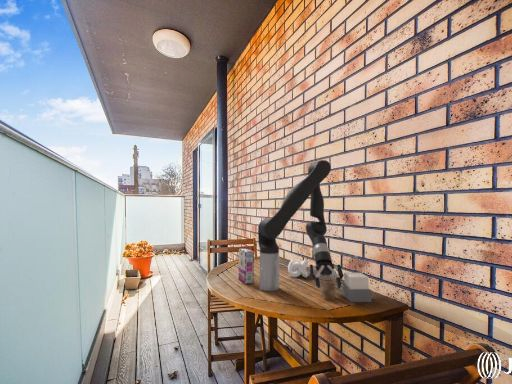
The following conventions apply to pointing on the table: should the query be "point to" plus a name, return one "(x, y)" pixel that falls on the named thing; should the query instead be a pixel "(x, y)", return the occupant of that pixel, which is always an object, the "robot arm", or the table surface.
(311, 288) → the table surface
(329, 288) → the walnut block
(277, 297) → the table surface
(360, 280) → the tower top block
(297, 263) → the white knot sculpture
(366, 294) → the tower base block
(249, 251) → the candy bar box
